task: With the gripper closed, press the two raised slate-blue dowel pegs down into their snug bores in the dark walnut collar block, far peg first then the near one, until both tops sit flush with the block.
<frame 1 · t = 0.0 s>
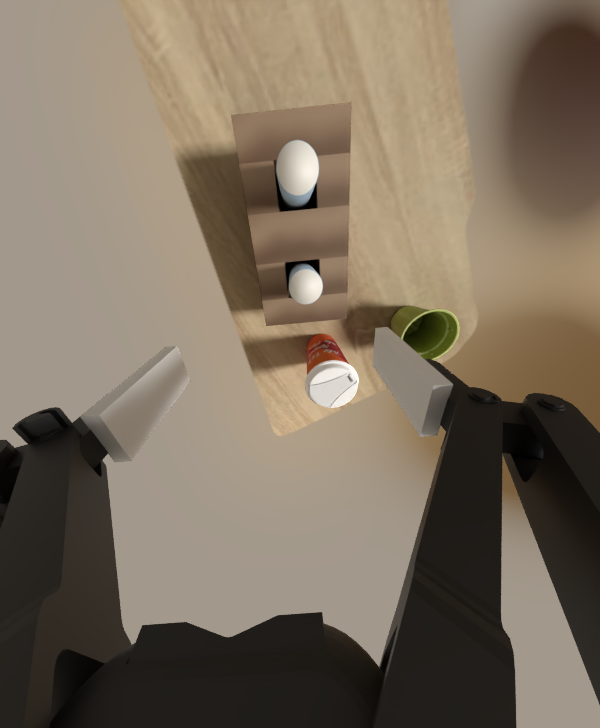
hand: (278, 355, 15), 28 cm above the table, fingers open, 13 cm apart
coffee cup: (320, 346, 45), on the table
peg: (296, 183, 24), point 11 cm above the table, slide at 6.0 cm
collar block: (298, 238, 36), on the table
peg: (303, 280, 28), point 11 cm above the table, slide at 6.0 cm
plant pot: (405, 320, 43), on the table
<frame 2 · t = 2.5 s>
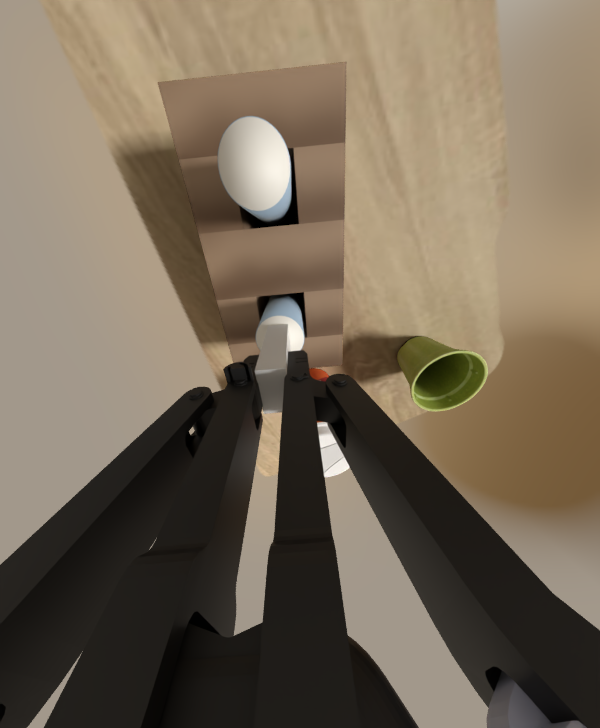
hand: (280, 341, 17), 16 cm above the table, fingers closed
coffee cup: (312, 382, 38), on the table
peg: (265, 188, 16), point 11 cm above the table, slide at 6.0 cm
collar block: (280, 256, 28), on the table
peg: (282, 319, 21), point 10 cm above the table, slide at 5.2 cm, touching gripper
plant pot: (414, 353, 36), on the table
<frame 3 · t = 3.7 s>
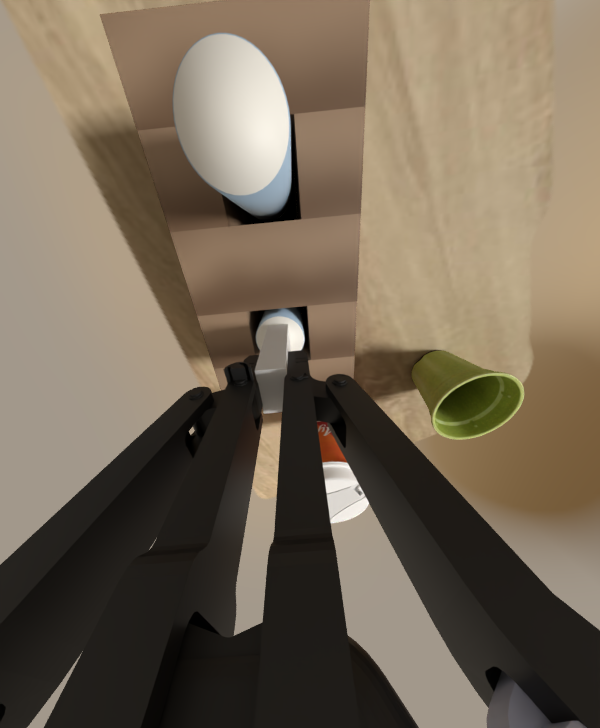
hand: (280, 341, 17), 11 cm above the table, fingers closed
coffee cup: (315, 400, 33), on the table
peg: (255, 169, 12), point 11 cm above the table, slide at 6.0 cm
collar block: (279, 259, 24), on the table
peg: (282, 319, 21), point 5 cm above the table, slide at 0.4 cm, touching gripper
plant pot: (431, 368, 31), on the table
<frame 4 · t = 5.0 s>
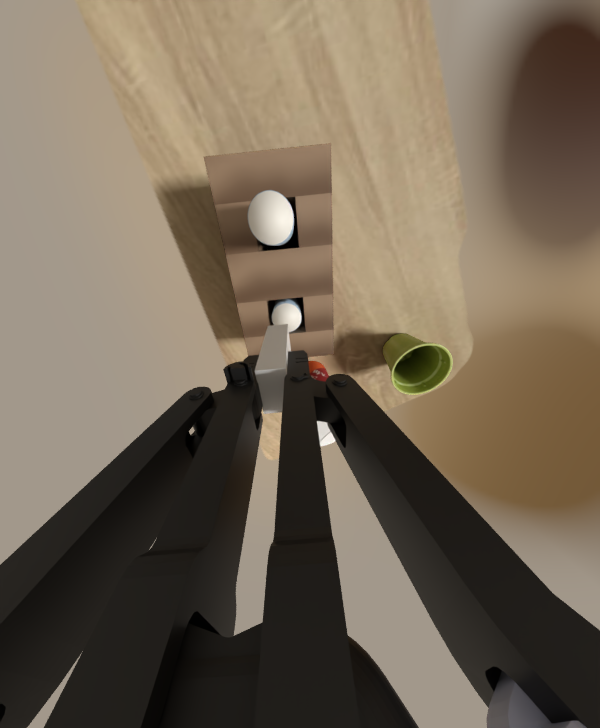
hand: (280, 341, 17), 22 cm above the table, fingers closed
coffee cup: (311, 373, 44), on the table
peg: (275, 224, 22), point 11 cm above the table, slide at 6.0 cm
collar block: (284, 268, 34), on the table
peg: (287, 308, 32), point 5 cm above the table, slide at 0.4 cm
plant pot: (397, 347, 42), on the table
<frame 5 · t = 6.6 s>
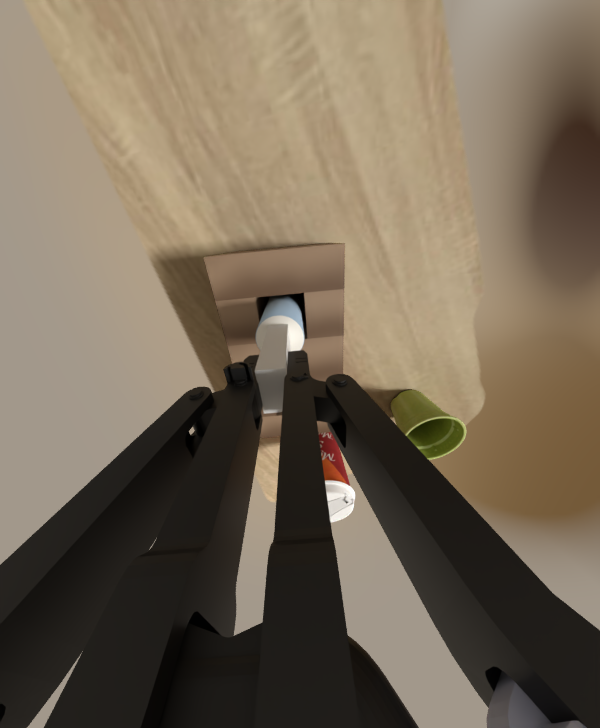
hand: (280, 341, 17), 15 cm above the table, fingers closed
coffee cup: (315, 425, 42), on the table
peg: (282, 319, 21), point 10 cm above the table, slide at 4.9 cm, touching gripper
collar block: (289, 331, 32), on the table
plant pot: (406, 402, 40), on the table
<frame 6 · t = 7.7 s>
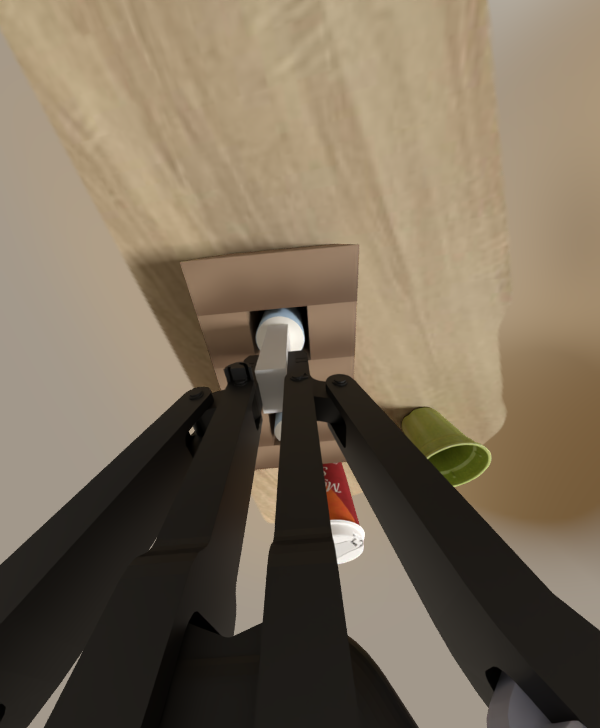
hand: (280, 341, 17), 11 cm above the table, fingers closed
coffee cup: (318, 445, 38), on the table
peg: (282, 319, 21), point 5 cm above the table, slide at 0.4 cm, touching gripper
collar block: (289, 343, 28), on the table
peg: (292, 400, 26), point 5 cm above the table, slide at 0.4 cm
plant pot: (418, 420, 36), on the table
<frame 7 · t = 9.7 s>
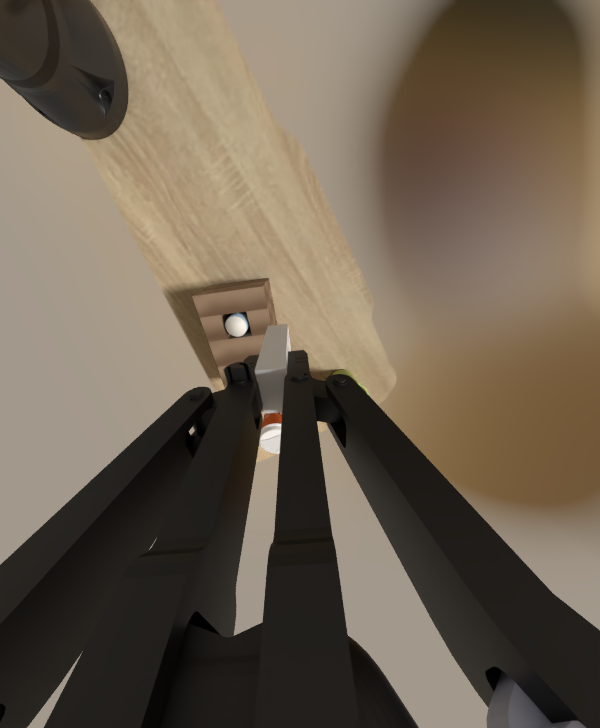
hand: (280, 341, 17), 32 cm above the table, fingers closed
coffee cup: (279, 398, 60), on the table
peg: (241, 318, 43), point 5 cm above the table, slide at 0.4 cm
collar block: (252, 332, 50), on the table
plant pot: (340, 378, 57), on the table
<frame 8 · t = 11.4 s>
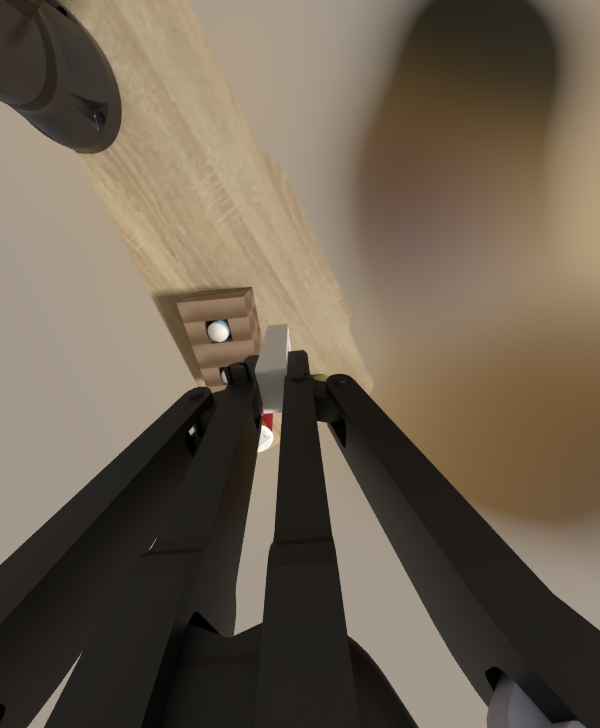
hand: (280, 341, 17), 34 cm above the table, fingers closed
coffee cup: (262, 399, 63), on the table
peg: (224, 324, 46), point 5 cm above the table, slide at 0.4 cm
collar block: (236, 336, 53), on the table
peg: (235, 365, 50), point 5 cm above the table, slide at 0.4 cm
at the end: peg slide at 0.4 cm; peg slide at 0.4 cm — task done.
